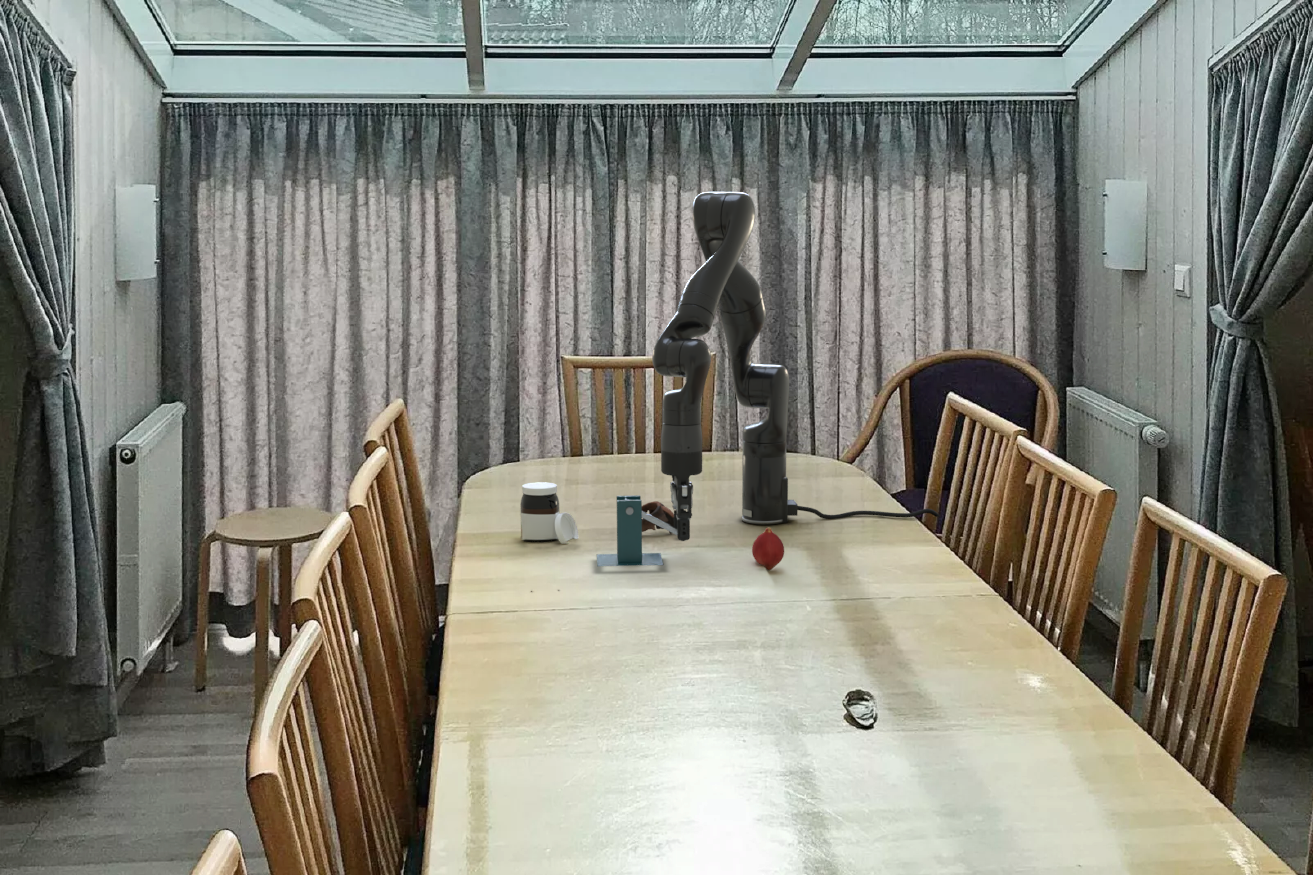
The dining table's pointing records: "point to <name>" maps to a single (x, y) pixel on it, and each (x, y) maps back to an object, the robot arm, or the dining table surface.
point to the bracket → (629, 537)
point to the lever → (658, 522)
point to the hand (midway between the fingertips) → (681, 534)
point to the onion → (768, 549)
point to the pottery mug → (657, 515)
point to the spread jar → (544, 515)
